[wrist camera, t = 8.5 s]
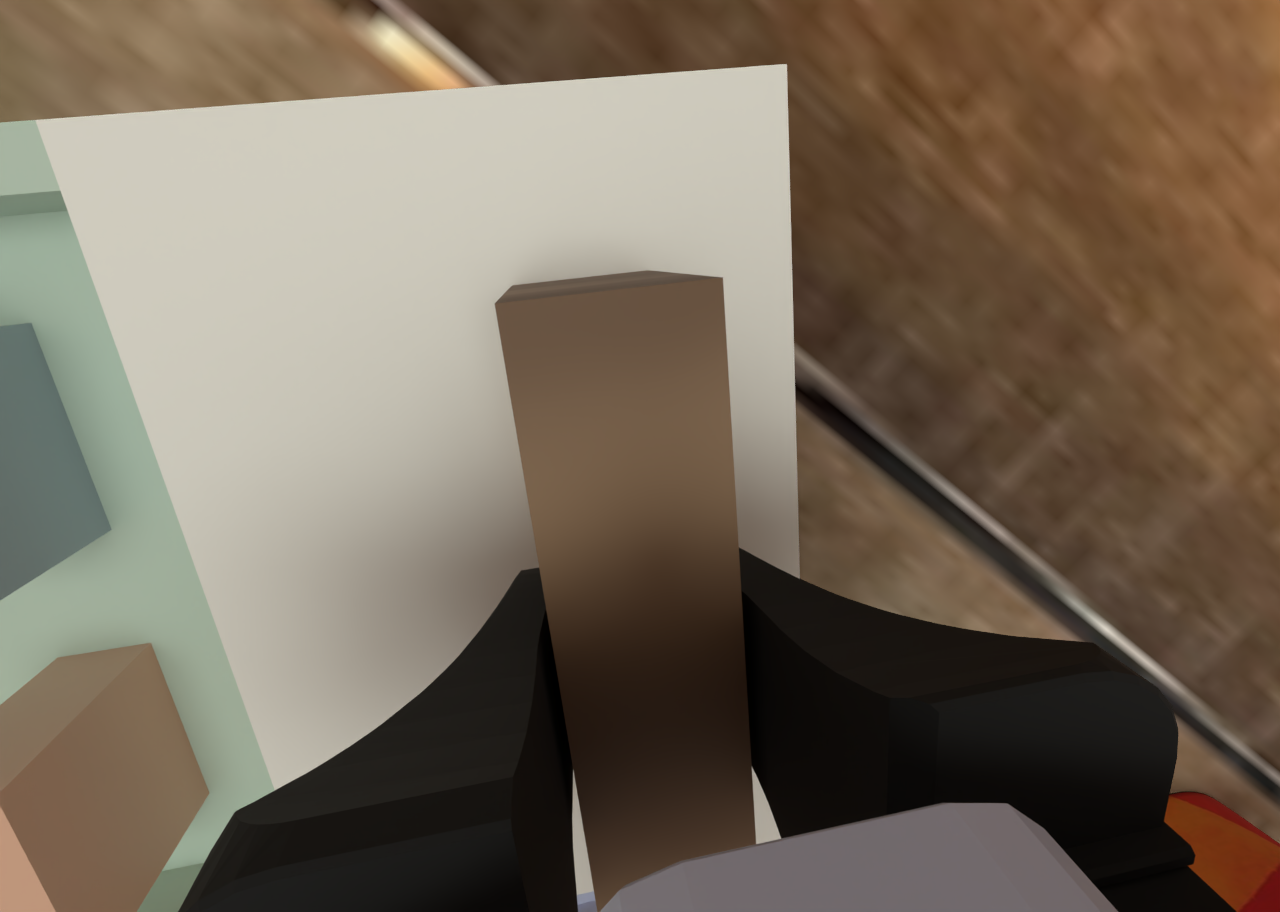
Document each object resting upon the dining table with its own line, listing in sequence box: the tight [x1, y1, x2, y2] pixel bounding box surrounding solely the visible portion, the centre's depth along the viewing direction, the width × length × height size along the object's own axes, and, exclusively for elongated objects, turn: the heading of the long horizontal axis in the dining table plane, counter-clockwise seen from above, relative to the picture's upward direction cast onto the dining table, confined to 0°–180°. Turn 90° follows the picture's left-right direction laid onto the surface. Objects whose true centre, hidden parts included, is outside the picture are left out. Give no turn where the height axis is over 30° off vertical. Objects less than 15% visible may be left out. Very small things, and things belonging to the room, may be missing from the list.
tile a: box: [0, 643, 209, 912], centre depth 13 cm, size 4×4×2 cm
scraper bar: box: [495, 270, 756, 912], centre depth 11 cm, size 12×2×5 cm, turn 6°
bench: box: [35, 64, 800, 895], centre depth 15 cm, size 18×12×3 cm, turn 6°
